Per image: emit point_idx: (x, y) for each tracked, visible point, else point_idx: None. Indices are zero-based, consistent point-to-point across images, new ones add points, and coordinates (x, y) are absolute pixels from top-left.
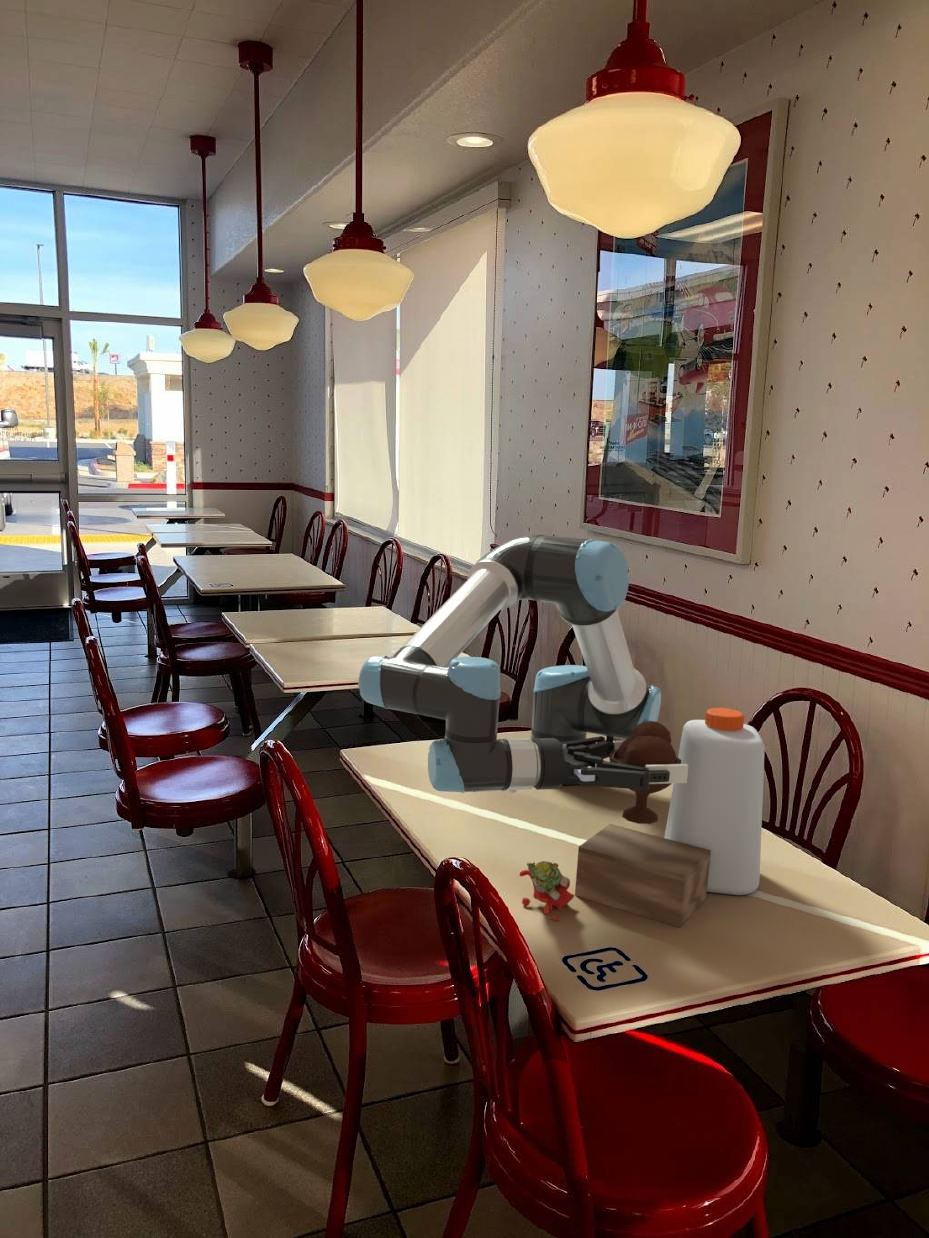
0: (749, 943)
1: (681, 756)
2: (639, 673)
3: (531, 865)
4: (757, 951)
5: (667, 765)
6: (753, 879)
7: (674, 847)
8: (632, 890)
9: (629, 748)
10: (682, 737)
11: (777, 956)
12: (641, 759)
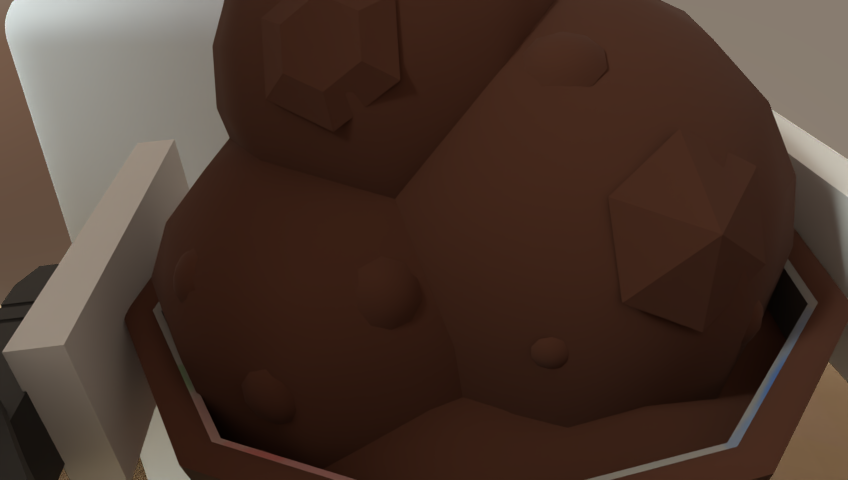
0: (780, 473)
1: (191, 166)
2: None
3: None
4: (825, 468)
5: (803, 141)
6: None
7: None
8: None
9: (630, 237)
10: (84, 87)
11: (831, 431)
12: (776, 239)
